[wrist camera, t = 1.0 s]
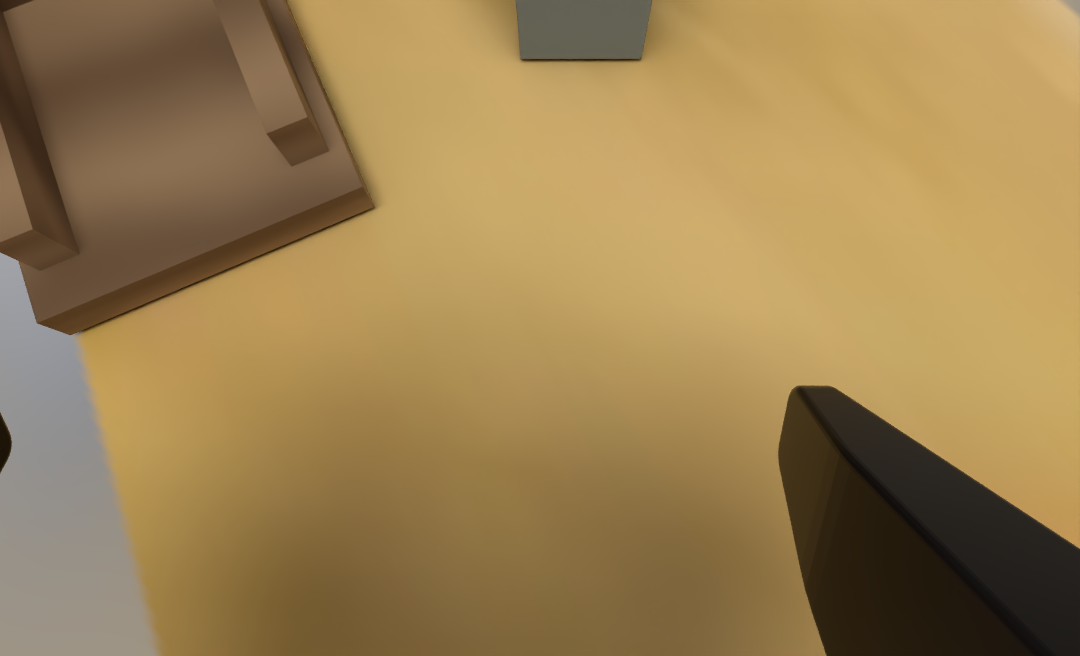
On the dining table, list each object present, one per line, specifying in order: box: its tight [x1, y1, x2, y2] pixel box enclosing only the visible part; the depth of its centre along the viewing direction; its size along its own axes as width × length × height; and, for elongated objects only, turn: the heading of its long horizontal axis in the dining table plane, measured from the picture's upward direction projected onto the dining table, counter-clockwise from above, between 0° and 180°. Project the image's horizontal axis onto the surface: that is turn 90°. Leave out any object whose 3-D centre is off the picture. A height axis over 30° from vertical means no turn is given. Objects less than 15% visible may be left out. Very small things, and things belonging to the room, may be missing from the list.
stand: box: [0, 0, 374, 335], centre depth 23 cm, size 12×10×4 cm
